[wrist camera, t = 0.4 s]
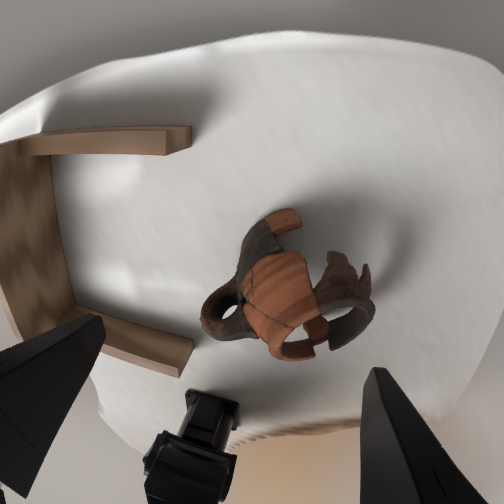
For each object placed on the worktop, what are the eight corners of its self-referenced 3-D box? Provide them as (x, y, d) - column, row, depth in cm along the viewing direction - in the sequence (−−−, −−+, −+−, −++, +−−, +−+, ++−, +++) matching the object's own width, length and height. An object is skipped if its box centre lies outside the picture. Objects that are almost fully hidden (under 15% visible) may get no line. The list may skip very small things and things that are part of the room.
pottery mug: (324, 178, 20) (387, 265, 14) (345, 258, 27) (386, 334, 21) (170, 251, 21) (179, 354, 16) (226, 311, 28) (245, 392, 22)
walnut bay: (193, 350, 29) (158, 419, 21) (70, 311, 31) (25, 357, 24) (191, 126, 20) (115, 141, 12) (40, 132, 22) (-34, 155, 14)
